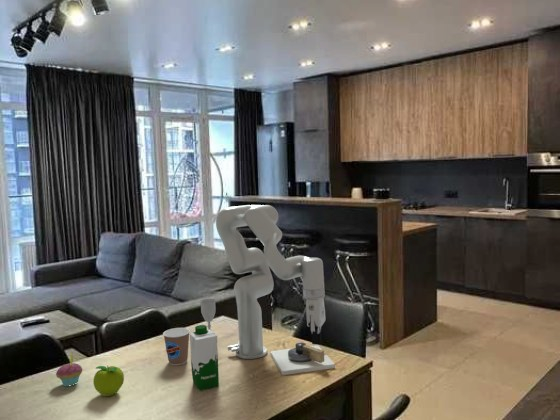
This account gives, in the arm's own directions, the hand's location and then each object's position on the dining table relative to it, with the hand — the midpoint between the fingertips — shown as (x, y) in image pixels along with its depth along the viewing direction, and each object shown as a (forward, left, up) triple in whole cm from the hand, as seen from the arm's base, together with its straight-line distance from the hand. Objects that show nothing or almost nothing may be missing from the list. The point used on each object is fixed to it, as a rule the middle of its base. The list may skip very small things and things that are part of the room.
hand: (316, 343), depth 168 cm
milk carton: (-40, +4, -11) cm, 41 cm away
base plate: (-3, +13, -11) cm, 17 cm away
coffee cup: (-49, +28, -11) cm, 57 cm away
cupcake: (-87, +20, -11) cm, 90 cm away
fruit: (-72, +7, -11) cm, 73 cm away
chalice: (-35, +47, -11) cm, 59 cm away
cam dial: (-1, +10, -10) cm, 14 cm away
